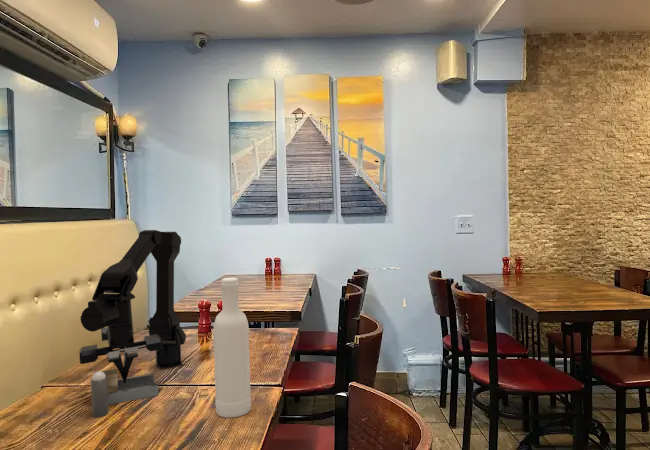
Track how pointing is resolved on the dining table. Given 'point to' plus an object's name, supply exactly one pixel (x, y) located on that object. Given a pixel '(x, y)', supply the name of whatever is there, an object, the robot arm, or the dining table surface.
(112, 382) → the block
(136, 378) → the grey open tray
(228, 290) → the bottle
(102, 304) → the robot arm
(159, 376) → the dining table surface
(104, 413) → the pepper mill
